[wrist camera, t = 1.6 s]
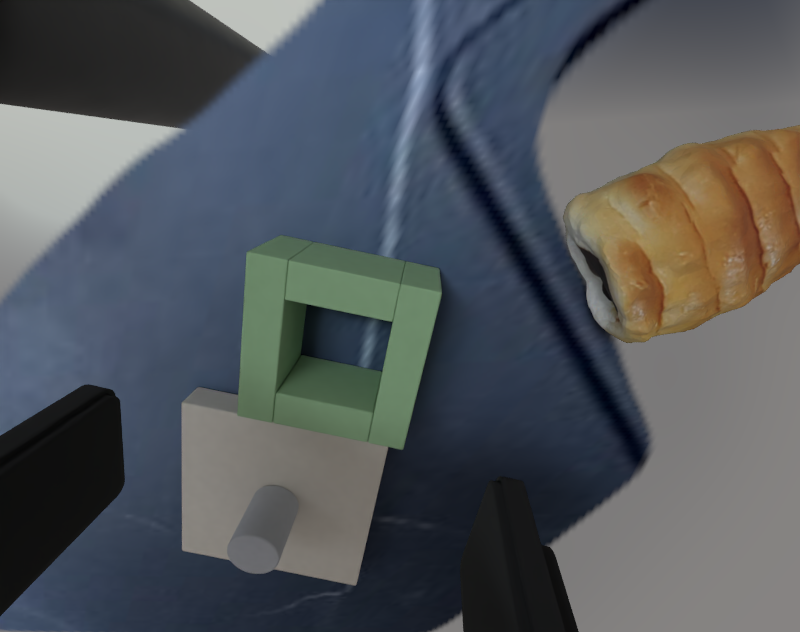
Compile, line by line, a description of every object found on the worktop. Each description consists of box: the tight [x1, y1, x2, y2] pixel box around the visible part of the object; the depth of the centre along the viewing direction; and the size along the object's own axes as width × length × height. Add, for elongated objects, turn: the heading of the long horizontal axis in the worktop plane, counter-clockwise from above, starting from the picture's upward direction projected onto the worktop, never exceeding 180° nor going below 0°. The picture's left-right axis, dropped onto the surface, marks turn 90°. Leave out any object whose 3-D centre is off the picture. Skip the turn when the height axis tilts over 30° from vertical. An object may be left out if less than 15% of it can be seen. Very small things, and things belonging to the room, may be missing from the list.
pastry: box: [563, 125, 800, 343], centre depth 14 cm, size 9×7×4 cm
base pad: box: [182, 387, 388, 585], centre depth 20 cm, size 10×10×4 cm
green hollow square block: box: [237, 235, 442, 450], centre depth 17 cm, size 7×7×4 cm
